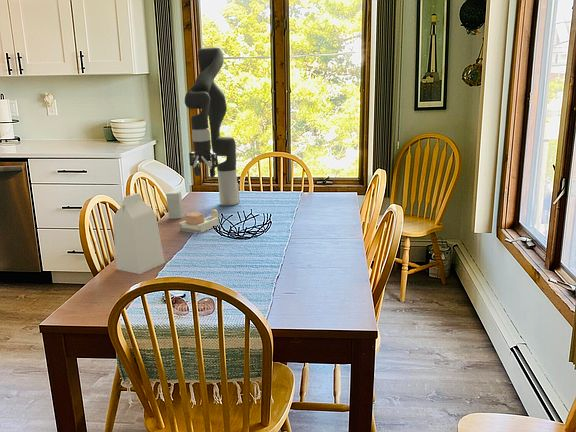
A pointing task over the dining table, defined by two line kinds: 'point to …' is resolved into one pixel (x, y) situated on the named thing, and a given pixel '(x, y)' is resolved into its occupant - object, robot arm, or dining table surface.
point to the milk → (136, 236)
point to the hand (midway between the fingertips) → (205, 176)
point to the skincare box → (174, 204)
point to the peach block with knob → (198, 217)
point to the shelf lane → (199, 226)
